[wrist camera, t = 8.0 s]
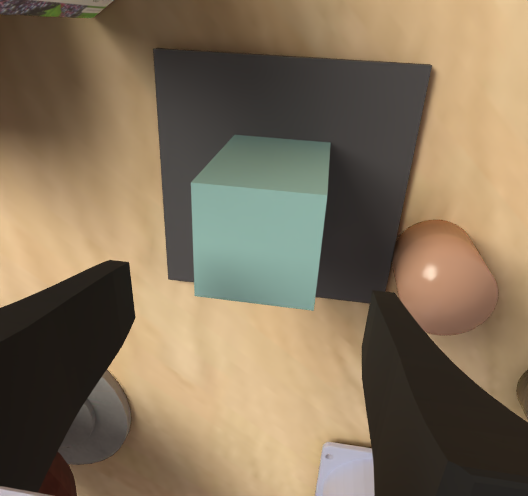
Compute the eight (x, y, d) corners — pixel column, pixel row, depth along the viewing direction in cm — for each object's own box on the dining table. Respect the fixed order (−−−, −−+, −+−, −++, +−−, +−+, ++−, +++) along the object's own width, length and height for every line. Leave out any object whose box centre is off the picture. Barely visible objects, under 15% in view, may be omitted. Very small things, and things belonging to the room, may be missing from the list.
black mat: (381, 300, 24) (382, 304, 24) (171, 274, 25) (168, 279, 25) (429, 64, 19) (431, 65, 18) (157, 48, 20) (153, 48, 19)
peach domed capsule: (461, 292, 23) (483, 340, 20) (384, 283, 24) (393, 329, 20) (482, 224, 21) (511, 263, 18) (398, 215, 22) (410, 252, 18)
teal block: (320, 230, 22) (313, 310, 16) (233, 221, 23) (194, 296, 17) (330, 142, 20) (327, 195, 14) (234, 134, 21) (190, 182, 15)
